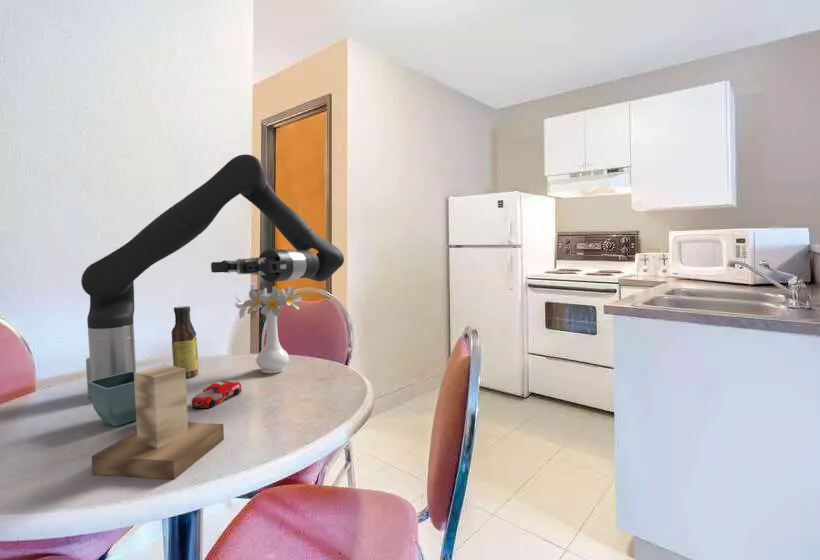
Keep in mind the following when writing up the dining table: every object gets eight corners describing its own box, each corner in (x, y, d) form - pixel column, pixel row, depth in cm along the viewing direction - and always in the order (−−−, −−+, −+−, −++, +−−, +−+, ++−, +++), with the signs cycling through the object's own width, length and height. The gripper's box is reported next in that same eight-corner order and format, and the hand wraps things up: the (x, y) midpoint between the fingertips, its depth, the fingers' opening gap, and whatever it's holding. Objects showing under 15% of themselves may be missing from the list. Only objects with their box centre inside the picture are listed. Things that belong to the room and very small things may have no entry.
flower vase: (236, 369, 127) (233, 286, 125) (299, 362, 134) (297, 284, 132) (237, 381, 115) (234, 290, 113) (306, 373, 122) (304, 287, 120)
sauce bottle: (203, 375, 121) (200, 306, 120) (181, 380, 116) (178, 308, 114) (190, 371, 124) (187, 304, 123) (168, 377, 119) (165, 307, 118)
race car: (205, 412, 94) (204, 394, 94) (186, 409, 96) (185, 392, 95) (245, 393, 106) (245, 377, 106) (228, 390, 108) (227, 375, 108)
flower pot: (108, 433, 82) (106, 388, 82) (88, 423, 87) (86, 381, 86) (155, 418, 90) (153, 376, 89) (134, 410, 95) (132, 370, 94)
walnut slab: (92, 474, 67) (91, 456, 67) (155, 435, 81) (154, 420, 81) (174, 479, 66) (173, 460, 66) (223, 439, 80) (223, 423, 79)
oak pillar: (137, 441, 72) (133, 372, 71) (168, 429, 77) (165, 364, 76) (157, 448, 70) (154, 376, 69) (188, 435, 75) (185, 368, 74)
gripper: (260, 249, 104) (202, 249, 90) (305, 249, 98) (250, 249, 83) (261, 279, 105) (203, 284, 90) (306, 281, 98) (252, 287, 84)
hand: (226, 267), depth 87 cm, fingers open, 8 cm apart
